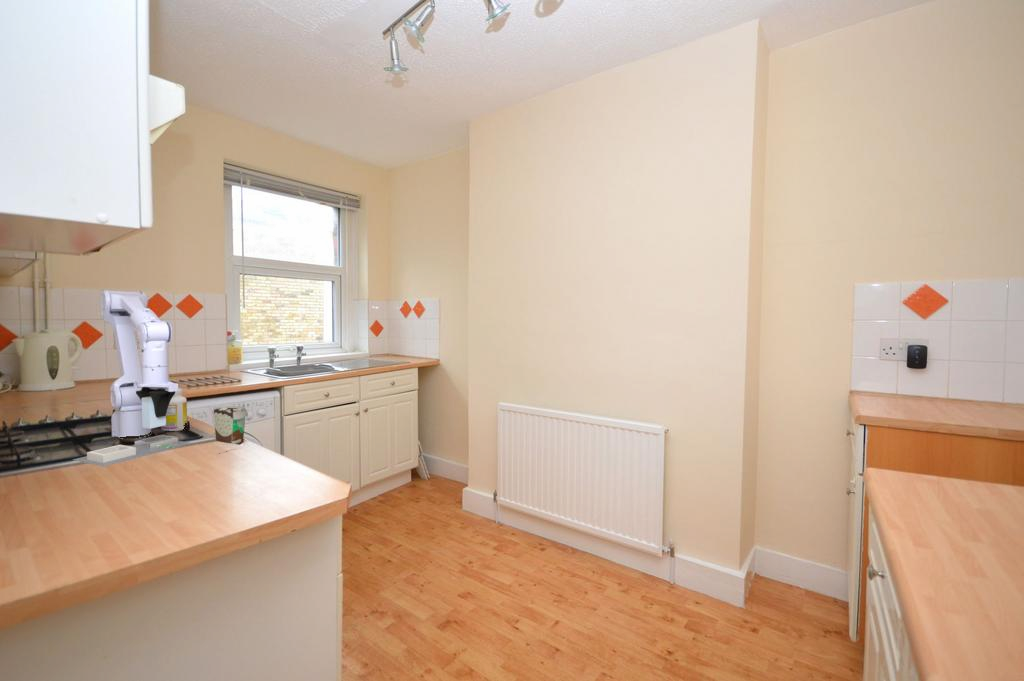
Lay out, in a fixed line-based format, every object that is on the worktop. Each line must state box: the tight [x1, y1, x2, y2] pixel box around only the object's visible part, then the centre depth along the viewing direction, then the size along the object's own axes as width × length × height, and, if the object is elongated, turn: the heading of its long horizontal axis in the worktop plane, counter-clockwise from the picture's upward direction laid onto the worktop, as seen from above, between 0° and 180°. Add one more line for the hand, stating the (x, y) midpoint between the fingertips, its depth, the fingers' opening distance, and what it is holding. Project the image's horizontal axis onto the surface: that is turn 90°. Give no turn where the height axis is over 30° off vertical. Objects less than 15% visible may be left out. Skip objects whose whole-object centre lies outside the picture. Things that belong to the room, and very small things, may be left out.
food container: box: [212, 405, 249, 446], centre depth 131 cm, size 12×6×10 cm, turn 58°
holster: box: [86, 444, 136, 463], centre depth 113 cm, size 6×7×2 cm
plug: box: [141, 397, 166, 430], centre depth 122 cm, size 3×4×8 cm
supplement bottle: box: [160, 388, 188, 432], centre depth 142 cm, size 7×7×13 cm
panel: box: [72, 440, 193, 467], centre depth 118 cm, size 12×21×1 cm, turn 161°
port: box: [134, 434, 179, 451], centre depth 122 cm, size 8×7×2 cm
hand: (156, 415), depth 122 cm, fingers closed on plug, 3 cm apart
